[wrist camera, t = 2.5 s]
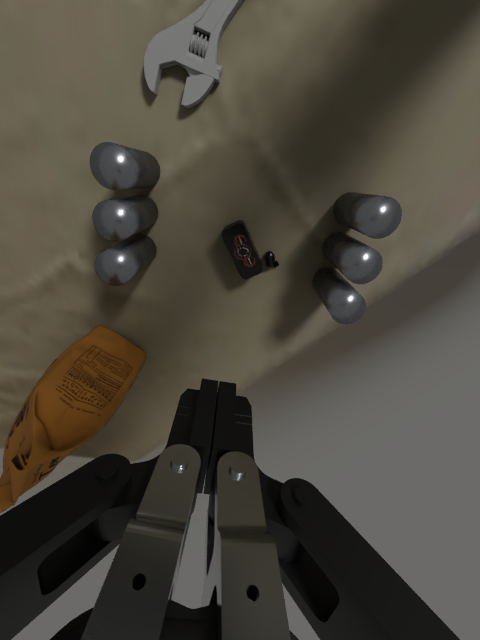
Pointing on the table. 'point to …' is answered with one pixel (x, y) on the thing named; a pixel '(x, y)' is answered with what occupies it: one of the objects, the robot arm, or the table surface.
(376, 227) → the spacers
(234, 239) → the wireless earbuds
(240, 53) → the table surface
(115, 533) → the robot arm
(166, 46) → the adjustable wrench
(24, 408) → the coffee package
